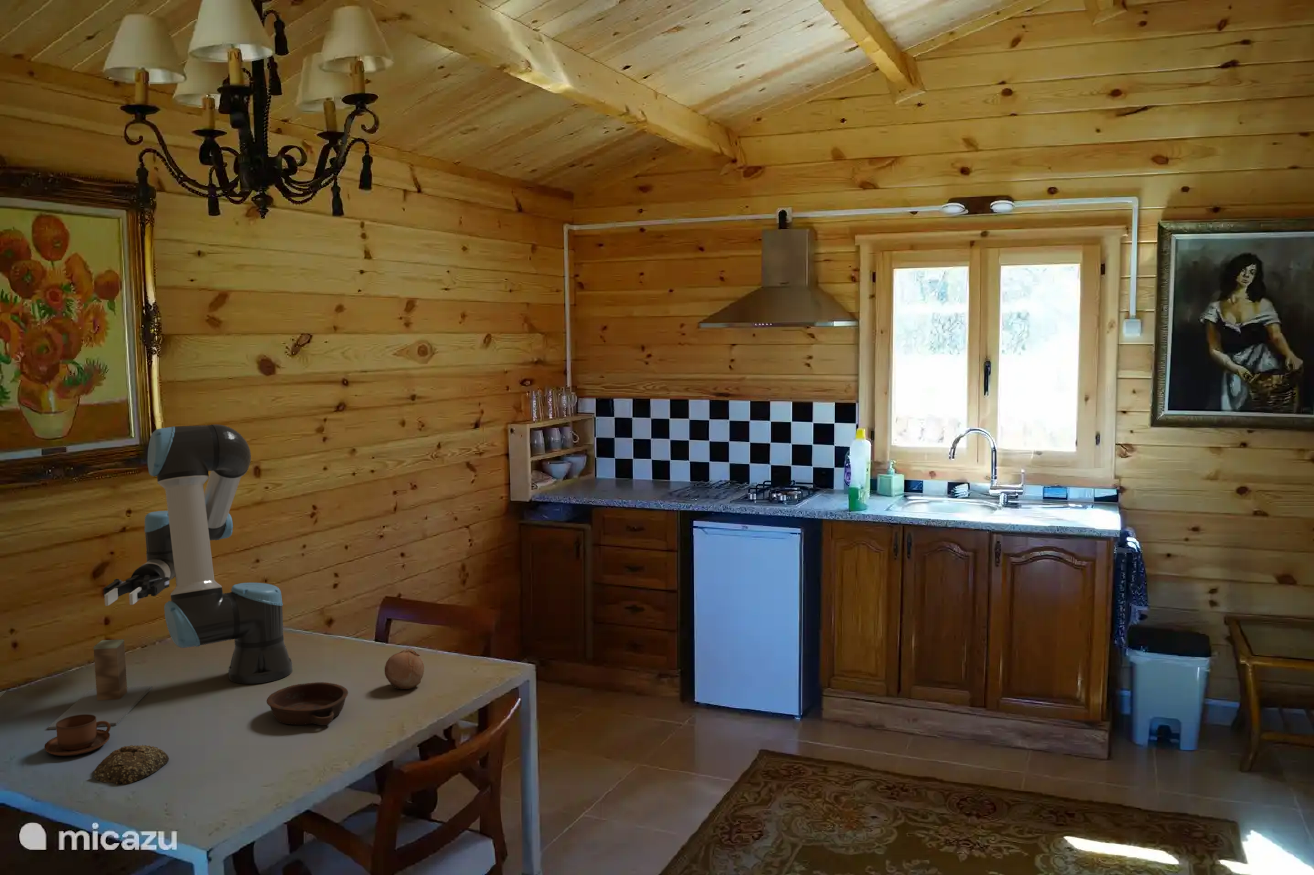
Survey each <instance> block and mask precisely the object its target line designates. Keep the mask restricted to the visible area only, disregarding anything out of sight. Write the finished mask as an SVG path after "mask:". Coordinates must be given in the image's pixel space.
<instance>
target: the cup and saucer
mask: <svg viewBox="0 0 1314 875" xmlns="http://www.w3.org/2000/svg"><path fill="white" fill-rule="evenodd" d="M100 724H105V725H106V726H105V727H106V729H99V728H98V727H97V726H98V725H100ZM111 728H112V726H110V724H109V723H108V722H107V721H99V722H96V716H94V715H90V714H82V715H75V716H70V717H67V718H64V719H62V720H60V721H58V722H57V723H56V729H55V730H56V736H55V737H53V738H51V739H49V740H48V741H46V742H45V744H44V750H45V752H47V753H48V754H51V755H53V756H59V757H72V756H78V755H83V754H86V753H90V752H92V751H96V750H97V749H99V748H101V747H102V746H104V745H105V744H106V743H108V742H109V740H110V738H111V733H110V730H111Z"/></svg>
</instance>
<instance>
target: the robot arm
mask: <svg viewBox="0 0 1314 875" xmlns="http://www.w3.org/2000/svg"><path fill="white" fill-rule="evenodd" d="M251 461H252V453H251V449H250V446H249V443H248V442H247V440H246V439H245V437H243V435H241V433H239V432H238V431H237V430H235V429H234V428H231V427H229V426H227V425H223V424H216V423H215V424H207V425H206V424H204V425H203V424H201V425H182V426H181V425H180V426H168V427H160V428H157V429H155V430H154V431H153V432H152V433H151V436H150V438H149V443H148V448H147V468H148V469H147V470H148V474H149V475H150V476H151V477H155V478H156V479H157V480H156V481H157V484H158V485H160V487H162V488H163V489H164V491H165V496H166V498H165V499H166V506H167V508H166V509H167V510H158V511H151V512H149V513H147V514H146V515H145V516H144V529H143V531H144V536H145V537H144V538H145V547H146V548H145V549H146V550H145V552H146V554H145V556H146V557H145V558H146V562H145V563H143V564H142V565H140V566H139V567H138V568H136V569H135V570H134V571H133V573H132V574H131V575H130V577H128V578H127V579H125V580H124V581H123V580H122V579H119V578H116V579H115V578H114V579H113V581H112V582H111V583H109V584H108V585H106V586H104V587H103V598H104V606H105V607H107V606H109V607H110V605H112V604H113V603H114V602H116V601H117V600H118V599H119V597H121V596H123V595H126V594H128V599H129V605H130V606H133V605H135V604H136V603H137V602H138V601H140V600H141V599H144V598H147V597H149V595H150V596H151V597H156V596H157V595H159V594H161V593H162V591H164V590H165V589H168V588H170V581H171V580H173V579H175V584H176V586H175V588H174V589H173V590H172V592H171V593H170V600H168V601H167V602H165V604H164V607H163V608H164V610H163V611H164V618H165V623H166V627H167V630H168V633H169V636H170V638H171V639H172V640H171V641H172V642H173V643H174V644H175V645H176V647H179V648H181V649H183V648H191V647H196V648H197V647H198V648H199V647H201V646H205V645H206V646H207V645H211V644H215V643H221V642H227V641H231V640H234V648H233V652H232V655H231V660H230V665H229V666H228V679H229V680H230V682H233V683H236V684H244V685H247V684H248V685H250V684H251V685H253V684H264V683H270V682H274V681H277V680H281V679H283V678H286V677H287V676H289V675H290V674H292V673H293V661H292V658H290V656H289V652H288V649H287V647H286V644H285V638H284V620H283V619H284V616H283V606H284V604H283V599H282V598H283V597H282V591H281V589H280V588H279V587H278V586H276V585H274V584H271V583H264V582H241V583H237V584H236V583H235V584H234V585H232V586H231V588H230V592H225V593H224V592H223V586H222V585H221V584H220V583H218V582H217V581H216V580H215V573H214V565H213V564H214V563H213V556H212V548H211V541H219V540H222V539H229V538H230V537H232V535H233V528H234V524H233V518H232V515H231V514H230V510H231V508H232V504H233V501H234V499H235V495H236V493H237V490H238V487H239V484H240V481H241V479H242V477H243V476H245V475H246V473H247V472H248V470H249V468H250V465H251ZM209 472H210V473H209ZM206 482H207V483H206ZM205 483H206V486H205V489H204V485H205Z"/></svg>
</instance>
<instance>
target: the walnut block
mask: <svg viewBox="0 0 1314 875" xmlns="http://www.w3.org/2000/svg"><path fill="white" fill-rule="evenodd" d="M125 649H126V648H125V639H104V640H103V639H102V640H101V641H99V642H97V644H95V645H94V646H93V657H94V658H93V659H94V672H95V673H94V676H95V689H96V691H97V700H114V699H120V698H121V697H122V696H124V695H125V694H126V693H127V687H128V681H127V669H126V668H127V665H126V650H125Z"/></svg>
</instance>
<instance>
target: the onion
mask: <svg viewBox="0 0 1314 875" xmlns="http://www.w3.org/2000/svg"><path fill="white" fill-rule="evenodd" d="M420 656H421V655H420V654H419V653H416V651H415V650H413V649H411V648H407V649H404V650H402V651H400V652H397V653H394V654H392V655H391V656H390V657H389V658H388V659H387V660H386V663H385V665H384V675H385V678H386V680H387V681H388V682H389V684H390V686H392V687H393V688H394V689H398V690H399V691H401V690H409V689H410V690H411V689H412V688H413V689H414V688H417V686H419V685H420V684H421V683H422V682H421V681H422V680H423V677H424V673H425V665H424V664H425V663H424V661H423V660H422V658H421V657H420Z"/></svg>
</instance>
